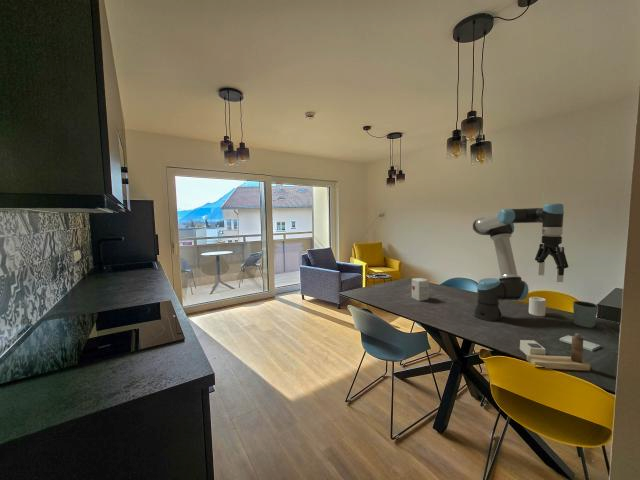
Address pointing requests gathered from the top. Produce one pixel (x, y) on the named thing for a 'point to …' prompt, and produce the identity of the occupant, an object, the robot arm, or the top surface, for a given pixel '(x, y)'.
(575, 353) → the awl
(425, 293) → the supplement box
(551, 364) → the batten
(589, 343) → the hard drive
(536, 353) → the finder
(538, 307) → the mug
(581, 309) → the grey round pot
